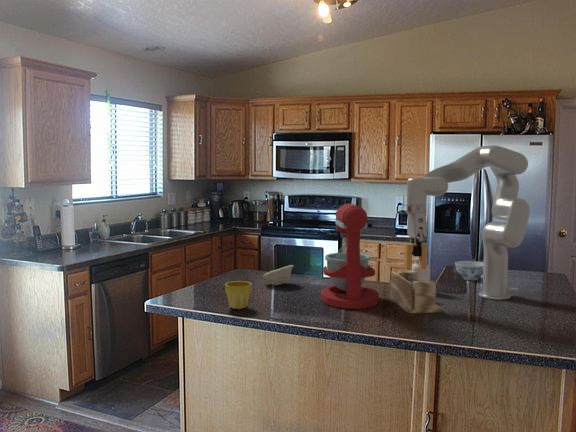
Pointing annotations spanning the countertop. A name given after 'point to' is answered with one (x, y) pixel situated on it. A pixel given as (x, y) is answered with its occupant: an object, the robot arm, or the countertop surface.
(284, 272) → the bowl
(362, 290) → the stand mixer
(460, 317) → the countertop surface
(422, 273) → the pill bottle
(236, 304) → the plant pot
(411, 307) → the wooden vise
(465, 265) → the chinaware
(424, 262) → the upright wooden block
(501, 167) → the robot arm
